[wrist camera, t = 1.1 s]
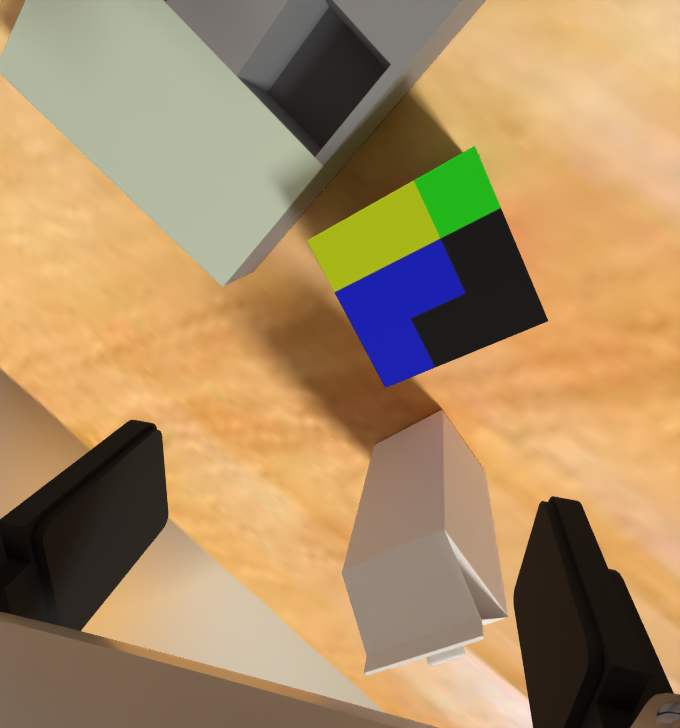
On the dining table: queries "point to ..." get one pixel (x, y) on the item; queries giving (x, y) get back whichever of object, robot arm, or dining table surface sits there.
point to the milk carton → (423, 549)
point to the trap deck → (224, 101)
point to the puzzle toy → (430, 271)
